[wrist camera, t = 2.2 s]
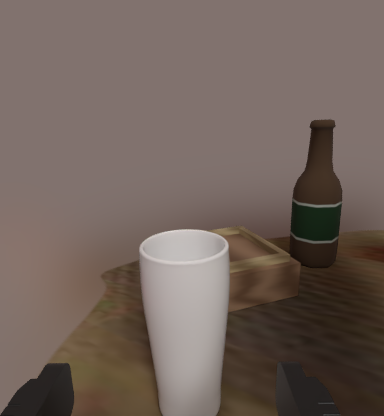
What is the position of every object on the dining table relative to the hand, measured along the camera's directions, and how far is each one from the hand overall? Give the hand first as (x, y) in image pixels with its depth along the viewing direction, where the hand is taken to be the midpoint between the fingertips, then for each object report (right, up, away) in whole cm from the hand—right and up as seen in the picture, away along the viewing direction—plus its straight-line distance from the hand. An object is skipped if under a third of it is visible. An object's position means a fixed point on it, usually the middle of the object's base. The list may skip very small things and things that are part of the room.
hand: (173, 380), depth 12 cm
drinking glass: (+1, -11, +15) cm, 18 cm away
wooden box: (+6, -5, +36) cm, 36 cm away
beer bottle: (+22, -3, +42) cm, 48 cm away
